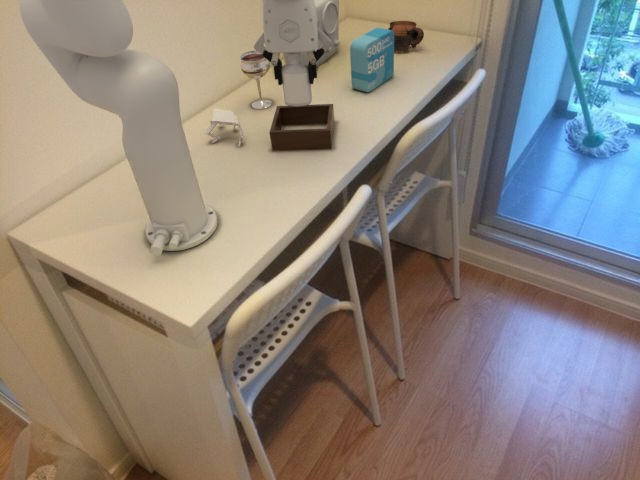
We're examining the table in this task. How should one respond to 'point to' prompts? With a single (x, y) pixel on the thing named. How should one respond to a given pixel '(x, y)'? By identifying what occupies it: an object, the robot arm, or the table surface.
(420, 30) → the pottery mug
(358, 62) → the data package
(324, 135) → the square wooden box frame
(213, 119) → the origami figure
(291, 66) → the eye dropper bottle
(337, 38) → the radio
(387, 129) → the table surface
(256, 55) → the wineglass
